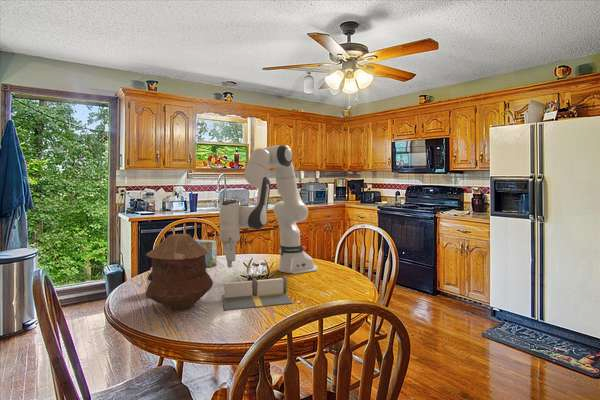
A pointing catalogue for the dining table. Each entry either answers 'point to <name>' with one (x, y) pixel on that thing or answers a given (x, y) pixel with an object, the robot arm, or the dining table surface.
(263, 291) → the block
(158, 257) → the pottery vessel
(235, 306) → the card
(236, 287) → the hinged panel
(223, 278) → the dining table surface
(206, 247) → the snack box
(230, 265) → the robot arm
